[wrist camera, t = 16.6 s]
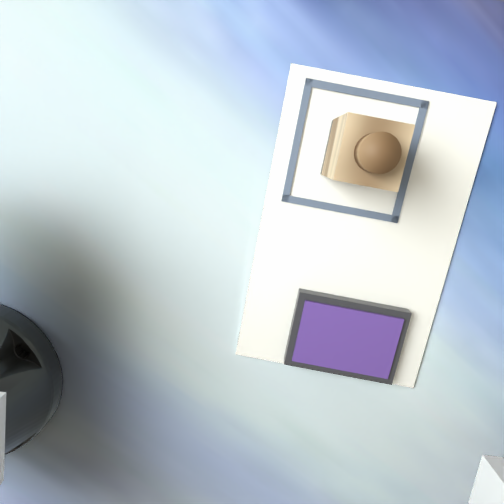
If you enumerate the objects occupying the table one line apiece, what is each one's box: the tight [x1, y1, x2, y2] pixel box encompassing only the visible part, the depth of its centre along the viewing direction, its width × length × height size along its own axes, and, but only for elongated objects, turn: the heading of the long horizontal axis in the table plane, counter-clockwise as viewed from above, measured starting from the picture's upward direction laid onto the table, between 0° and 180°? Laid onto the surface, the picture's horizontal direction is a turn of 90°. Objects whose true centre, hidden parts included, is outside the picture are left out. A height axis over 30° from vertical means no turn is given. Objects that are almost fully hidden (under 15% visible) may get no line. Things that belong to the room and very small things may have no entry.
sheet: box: [236, 63, 497, 388], centre depth 40 cm, size 17×26×1 cm, turn 170°
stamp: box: [321, 112, 415, 192], centre depth 33 cm, size 4×4×10 cm
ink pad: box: [284, 288, 412, 385], centre depth 41 cm, size 10×7×2 cm
